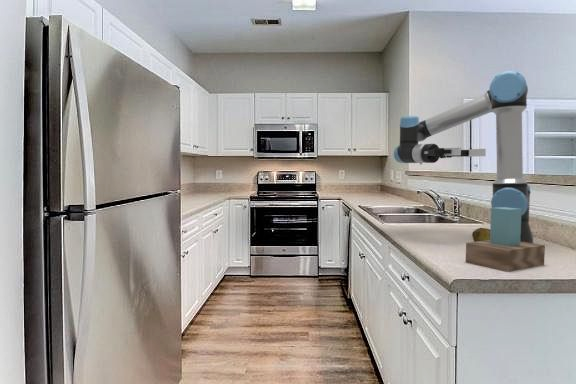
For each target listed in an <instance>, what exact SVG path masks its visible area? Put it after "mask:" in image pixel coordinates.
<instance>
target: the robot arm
mask: <svg viewBox="0 0 576 384" xmlns="http://www.w3.org/2000/svg"><path fill="white" fill-rule="evenodd" d="M528 91H529V89H528V84H527V80H526V77H524V75H523V74H522V73H520V72H519V71H515V70H506V71H501V72H500V73H497V74H496V75H495V76H494V77H493V78H492V80H491V82H490V84H489V90H486V91H485V93H484V94H483V95H481V96H479V97H476V98H473V99H472V100H469V101H467V102H464V103H462V104H459V105H457V106H455V107H452V108H450V109H448V110H445V111H443V112H441V113H439V114H436V115H434V116H431V117H428V118H427V119H424V120H422V121H420V119H419V116H416V115H404V116H401V117H400V120H399V121H400V122H399V145H397V146H396V147H395V149H394V151H393V158H394V160H395V162H398V163H400V164H418V163H419V165H423V163H424V164H433V163H437V162H438V161H439V160H440V159H446V158H447V159H448V158H450V159H451V158H453V157H456V158H457V157H460V158H461V157H469V158H473V157H486V153H487V151H486V148H472V147H469V149H462V148H461V147H445V148H444V147H439V146H438V145H437V144H436V143H419V142H423V141H426V139H428V138H430V137H432V136H434V135H437V134H439V133H442V132H444V131H446V130H450V129H452V128H454V127H457V126H459V125H462V124H465V123H467V122H470V121H472V120H475V119H478V118H480V117H482V116H485V115H487V114H490V113H493V114H494V115H495V127H496V129H495V130H496V133H495V135H496V136H495V137H496V139H495V140H496V144H495V145H496V179H495V180H494V181H493V182H492V197H491V200H490V205H491V208H498V207H507V208H518V209H522V212H521V237H520V242H527V243H533V244H534V236H533V233H532V230H531V226H530V221H529V220H530V202H531V197H530V196H531V192H532V191H531V188H530V185H528V181H527V180H526V179H524V177H523V176H524V173H523V169H524V168H523V159H524V158H523V112H524V111H525V110H526V109H527V105H528V104H527V101H528V100H527V98H528V97H527V95H528V93H529V92H528Z"/></svg>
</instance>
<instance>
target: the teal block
mask: <svg viewBox="0 0 576 384" xmlns="http://www.w3.org/2000/svg"><path fill="white" fill-rule="evenodd" d="M521 212H522V209H518V208H507V207H498V208H492V207H491V208H490V228H489V229H490V243H491V244H496V245H502V246H516V245H520V237H521Z"/></svg>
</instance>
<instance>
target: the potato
mask: <svg viewBox="0 0 576 384" xmlns="http://www.w3.org/2000/svg"><path fill="white" fill-rule="evenodd" d="M471 237H472V239H473V242H478V241H486V240H490V228H485V227H479V228H476V229H475V230H473V231H472V233H471Z"/></svg>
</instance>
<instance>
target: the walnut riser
mask: <svg viewBox="0 0 576 384" xmlns="http://www.w3.org/2000/svg"><path fill="white" fill-rule="evenodd" d="M545 251H546V245H544V244H539V243H534V242H533V243H527V242H520V245H516V246H502V245H496V244H491V243H490V240H486V241H478V242H474V241H471V242H466V243H465V263H469V264H473V265H476V266H482V267H485V268H491V269H495V270H499V271H503V272H512V271H519V270H523V269H529V268H535V267H539V266H540V267H541V266H544V265H545V254H546V253H545Z"/></svg>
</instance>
